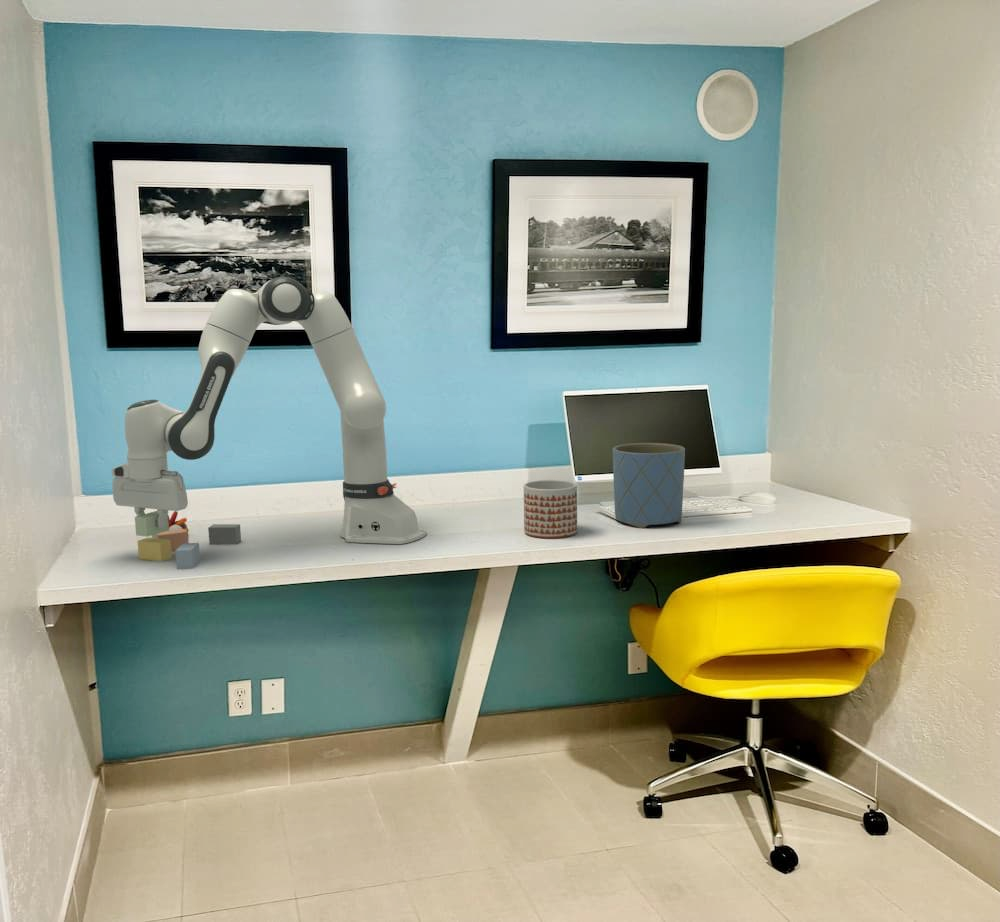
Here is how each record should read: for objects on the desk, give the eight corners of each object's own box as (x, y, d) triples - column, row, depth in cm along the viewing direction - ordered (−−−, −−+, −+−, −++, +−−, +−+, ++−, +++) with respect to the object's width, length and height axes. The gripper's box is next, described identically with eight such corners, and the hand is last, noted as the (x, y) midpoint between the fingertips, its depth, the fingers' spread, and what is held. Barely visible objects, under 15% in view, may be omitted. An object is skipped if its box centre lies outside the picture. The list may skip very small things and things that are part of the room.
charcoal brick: (241, 541, 245) (240, 524, 244) (236, 544, 241) (235, 527, 241) (214, 541, 245) (213, 524, 245) (209, 544, 242) (208, 527, 241)
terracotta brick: (185, 546, 241) (184, 528, 240) (189, 549, 238) (187, 531, 237) (156, 550, 237) (155, 532, 237) (159, 553, 234) (158, 535, 234)
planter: (636, 532, 245) (637, 455, 242) (599, 518, 263) (599, 446, 259) (698, 524, 253) (699, 449, 250) (658, 510, 270) (658, 440, 267)
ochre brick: (171, 558, 230) (170, 539, 229) (161, 561, 227) (159, 543, 226) (149, 555, 233) (148, 537, 232) (138, 559, 229) (137, 540, 229)
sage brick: (158, 528, 232) (156, 510, 232) (169, 530, 231) (167, 511, 230) (136, 535, 226) (134, 516, 225) (147, 536, 225) (145, 518, 224)
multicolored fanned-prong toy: (186, 540, 246) (184, 513, 245) (147, 543, 245) (144, 515, 244) (191, 533, 255) (189, 506, 253) (153, 535, 253) (151, 508, 252)
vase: (529, 540, 239) (528, 490, 237) (520, 528, 253) (519, 480, 251) (582, 537, 242) (582, 488, 239) (570, 525, 255) (570, 478, 253)
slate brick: (184, 561, 226) (183, 543, 225) (199, 561, 226) (198, 542, 226) (176, 569, 219) (175, 550, 219) (192, 569, 220) (191, 550, 219)
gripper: (191, 469, 225) (195, 526, 227) (126, 464, 233) (130, 520, 235) (172, 473, 219) (176, 532, 221) (106, 468, 227) (110, 525, 230)
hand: (152, 526), depth 228 cm, fingers closed on sage brick, 3 cm apart
